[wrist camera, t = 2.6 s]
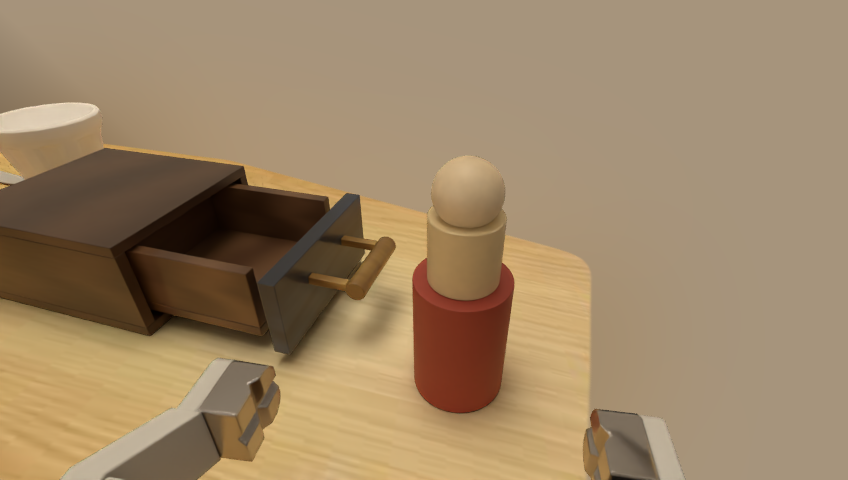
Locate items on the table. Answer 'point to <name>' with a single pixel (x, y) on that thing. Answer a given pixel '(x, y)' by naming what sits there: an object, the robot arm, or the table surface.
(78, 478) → the robot arm
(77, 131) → the cup
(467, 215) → the doll
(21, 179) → the fork
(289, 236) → the drawer
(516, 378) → the table surface
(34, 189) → the cabinet
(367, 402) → the table surface
